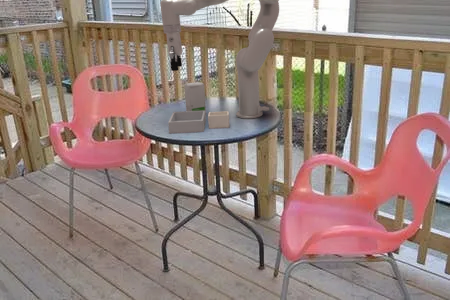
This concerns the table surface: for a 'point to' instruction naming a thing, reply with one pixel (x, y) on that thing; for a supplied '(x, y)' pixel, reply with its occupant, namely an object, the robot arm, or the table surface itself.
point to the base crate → (187, 122)
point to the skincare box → (195, 96)
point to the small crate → (218, 119)
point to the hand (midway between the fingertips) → (176, 68)
